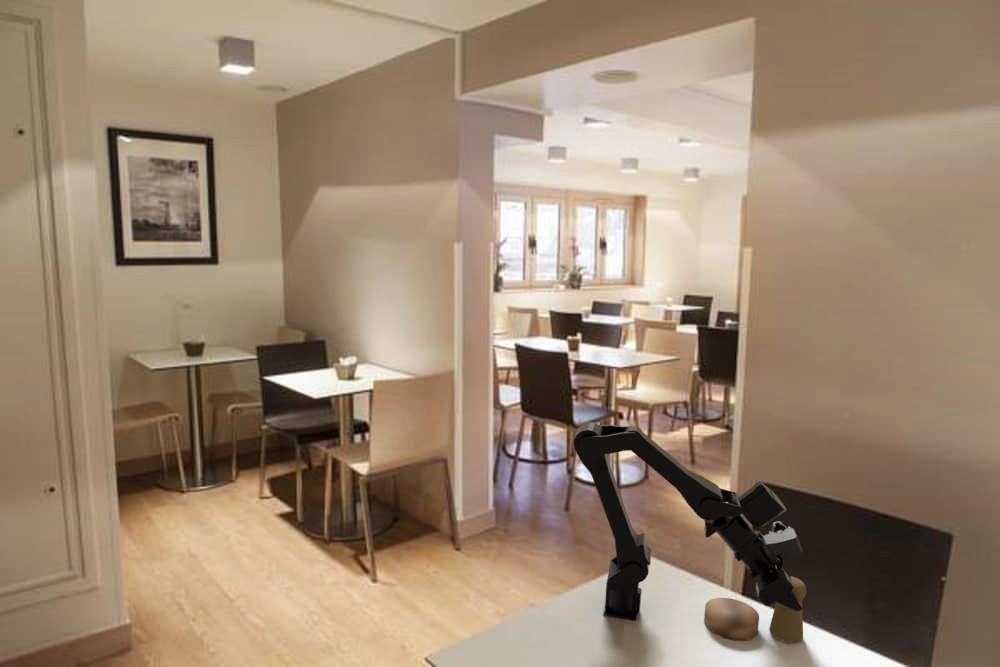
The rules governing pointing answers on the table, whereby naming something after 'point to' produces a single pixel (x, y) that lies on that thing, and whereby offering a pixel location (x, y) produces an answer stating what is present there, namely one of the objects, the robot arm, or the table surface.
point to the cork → (789, 617)
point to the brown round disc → (731, 619)
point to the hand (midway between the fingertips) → (797, 602)
